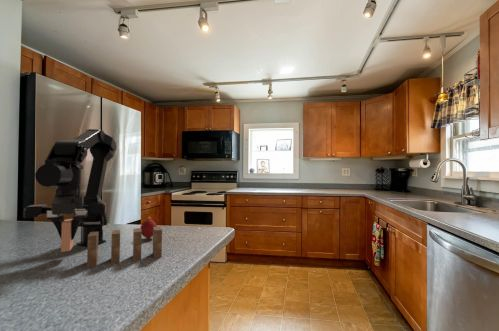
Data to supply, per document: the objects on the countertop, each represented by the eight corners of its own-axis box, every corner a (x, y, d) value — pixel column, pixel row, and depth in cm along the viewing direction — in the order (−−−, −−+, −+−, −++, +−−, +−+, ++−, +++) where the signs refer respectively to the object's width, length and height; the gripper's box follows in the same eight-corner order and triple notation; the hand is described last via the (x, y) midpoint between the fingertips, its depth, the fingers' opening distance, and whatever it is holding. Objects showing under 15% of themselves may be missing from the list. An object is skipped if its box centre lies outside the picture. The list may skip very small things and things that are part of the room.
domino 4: (154, 258, 74) (154, 230, 74) (152, 253, 78) (153, 227, 79) (161, 257, 75) (162, 229, 75) (159, 252, 79) (160, 226, 79)
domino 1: (87, 267, 67) (87, 236, 67) (89, 261, 71) (90, 232, 71) (95, 265, 68) (96, 235, 68) (97, 260, 72) (98, 231, 72)
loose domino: (60, 251, 70) (61, 222, 70) (64, 247, 75) (65, 219, 75) (69, 250, 71) (70, 221, 71) (73, 246, 75) (73, 218, 76)
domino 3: (133, 261, 72) (133, 232, 72) (133, 255, 76) (133, 228, 76) (141, 260, 72) (141, 231, 73) (140, 254, 77) (140, 228, 77)
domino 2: (111, 263, 69) (111, 234, 69) (111, 258, 74) (112, 230, 74) (119, 262, 70) (119, 233, 70) (119, 257, 74) (120, 229, 75)
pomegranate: (151, 241, 92) (151, 218, 92) (136, 240, 93) (137, 218, 93) (159, 237, 98) (160, 216, 98) (146, 236, 99) (146, 215, 99)
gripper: (15, 187, 62) (13, 251, 62) (104, 185, 70) (102, 243, 70) (31, 184, 72) (29, 240, 72) (106, 184, 80) (105, 234, 80)
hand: (67, 239), depth 73 cm, fingers closed on loose domino, 2 cm apart
